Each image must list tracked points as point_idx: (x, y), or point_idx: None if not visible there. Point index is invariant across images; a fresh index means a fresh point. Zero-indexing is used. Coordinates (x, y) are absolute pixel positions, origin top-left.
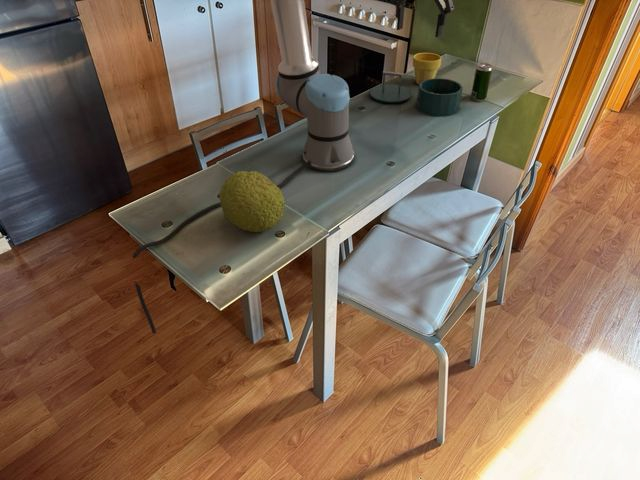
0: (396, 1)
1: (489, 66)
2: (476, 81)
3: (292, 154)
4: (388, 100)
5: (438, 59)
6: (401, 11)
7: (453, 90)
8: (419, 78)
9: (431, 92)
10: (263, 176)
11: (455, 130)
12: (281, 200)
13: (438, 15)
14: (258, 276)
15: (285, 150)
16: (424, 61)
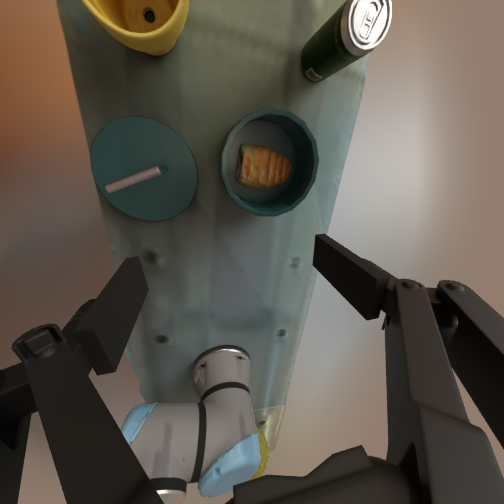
0: (29, 412)
1: (384, 20)
2: (332, 66)
3: (185, 381)
4: (173, 213)
5: None
6: (118, 340)
7: (282, 121)
8: (149, 52)
9: (244, 161)
10: None
11: (317, 226)
12: (265, 447)
13: (363, 316)
14: (276, 437)
15: (172, 383)
16: (154, 36)
